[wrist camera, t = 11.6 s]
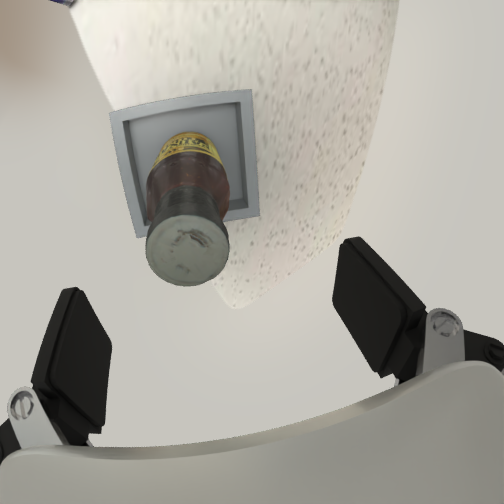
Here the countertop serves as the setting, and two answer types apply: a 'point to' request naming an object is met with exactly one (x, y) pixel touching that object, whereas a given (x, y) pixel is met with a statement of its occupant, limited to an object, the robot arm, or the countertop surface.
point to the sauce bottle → (187, 211)
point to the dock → (188, 120)
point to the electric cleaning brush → (63, 2)
